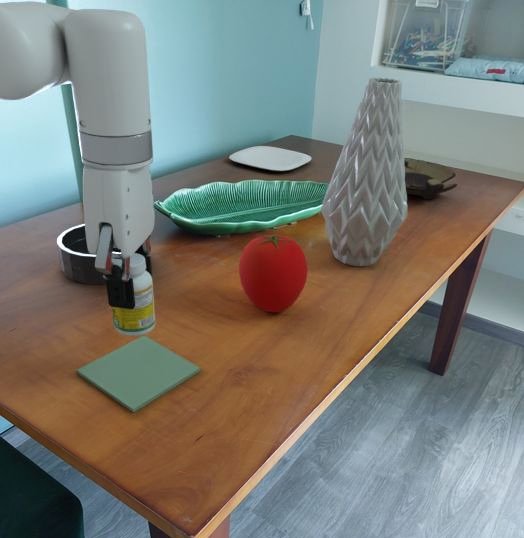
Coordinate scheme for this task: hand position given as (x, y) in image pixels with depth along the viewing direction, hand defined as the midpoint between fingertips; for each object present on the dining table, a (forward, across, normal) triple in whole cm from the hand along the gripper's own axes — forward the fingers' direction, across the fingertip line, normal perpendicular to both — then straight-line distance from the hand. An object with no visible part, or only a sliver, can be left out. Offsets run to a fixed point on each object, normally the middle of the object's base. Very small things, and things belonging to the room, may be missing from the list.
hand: (131, 293), depth 67 cm
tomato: (+13, -22, +15) cm, 30 cm away
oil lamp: (+13, -93, +43) cm, 103 cm away
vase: (+13, -47, +29) cm, 56 cm away
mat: (+13, 0, 0) cm, 13 cm away
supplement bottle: (+5, 0, 0) cm, 5 cm away
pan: (+13, -30, -17) cm, 37 cm away
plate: (+13, -107, +2) cm, 108 cm away
